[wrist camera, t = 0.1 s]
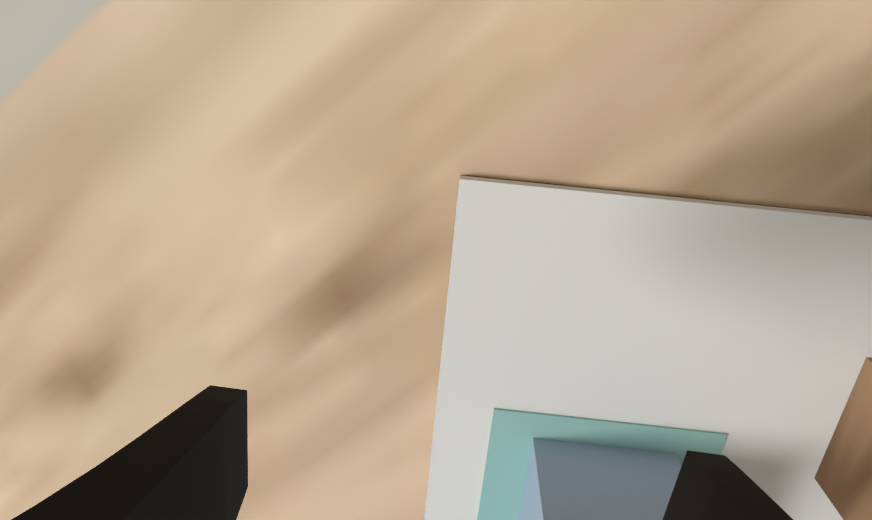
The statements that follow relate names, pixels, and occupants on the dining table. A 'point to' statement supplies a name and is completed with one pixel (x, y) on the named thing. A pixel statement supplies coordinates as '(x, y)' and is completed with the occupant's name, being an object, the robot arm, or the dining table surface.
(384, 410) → the dining table surface
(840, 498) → the walnut cube
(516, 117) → the dining table surface
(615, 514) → the base block
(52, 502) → the robot arm
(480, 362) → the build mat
